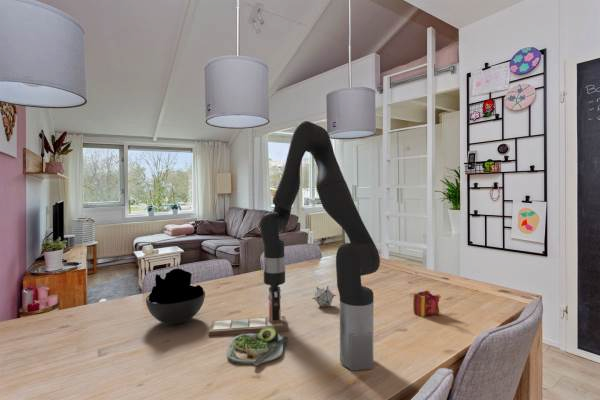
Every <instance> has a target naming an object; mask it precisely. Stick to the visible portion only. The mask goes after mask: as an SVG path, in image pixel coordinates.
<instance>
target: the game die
mask: <svg viewBox="0 0 600 400" xmlns="http://www.w3.org/2000/svg"><path fill="white" fill-rule="evenodd" d="M316 289H317V290H316V292H315V295H314V297H312V298H311V299H312V300H315V302H316V303H317V304H318V305H319V307H318V308H319V309H321V307H331V308H332V305H331V304H332V302H333V299H334V297H336V295H337V294H334V293H332V291H331V290H330V289H329V285H327V287H320V288H319V287H318V286H316Z"/></svg>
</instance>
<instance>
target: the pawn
mask: <svg viewBox="0 0 600 400" xmlns="http://www.w3.org/2000/svg"><path fill="white" fill-rule="evenodd" d="M267 298H268V317H269V322H270V323H272V324H277V323H280V322H281V308H280V309H279V320H272V303H270V295H269V294H268V297H267ZM281 298H282V295H281V294H280V300H281ZM274 306H278V304H277V303H274Z"/></svg>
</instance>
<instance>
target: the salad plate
mask: <svg viewBox="0 0 600 400" xmlns="http://www.w3.org/2000/svg"><path fill="white" fill-rule="evenodd" d="M288 340H289V337H288V336H286V335H285V336H282V335H280V334H278V332H277V331H276V330H275V329H274V328H272V327H266V328H263V329H261V330H259V333H248V334H237V335H235V336H234V337H233V338H232V339H231V340H230V342H229V345H228V348H227V350H226V357H227V358H228V359H229V360H230V361H232V362H235V363H236V362H237V364H240V363H241V365H253V366H255V367H256V366H257V367H258V366H260V365H261V364H264V363H267V362H270V361H273V360H275V359H278V358H280V357H281V355H283V351H284V345H285V343H286V342H287V341H288ZM236 351H240V352H244V353H246V354H247V357H245V358H241V357H239V356H238V355H237V354H236Z"/></svg>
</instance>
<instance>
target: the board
mask: <svg viewBox="0 0 600 400" xmlns="http://www.w3.org/2000/svg"><path fill="white" fill-rule="evenodd" d="M287 323H288V322H287V319H286V316H283V315H282V316H281V322H280V323H277V324H272V323H270V322H269V316H268V317H267V316H266V317H265V316H264V317H252V318H237V319H236V318H235V319H234V318H233V319H219V320H217V319H216V320H211V323H210V326H209V329H208V336H209V337H217V336H230V335H241V334H257V333H259V330H261V329H263V328H266V327H272V328H274V329H275V330H276V331H277V333H278V332H289V331H288V329H289V327H288V324H287Z"/></svg>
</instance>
